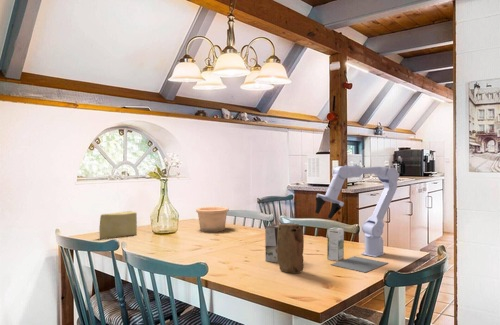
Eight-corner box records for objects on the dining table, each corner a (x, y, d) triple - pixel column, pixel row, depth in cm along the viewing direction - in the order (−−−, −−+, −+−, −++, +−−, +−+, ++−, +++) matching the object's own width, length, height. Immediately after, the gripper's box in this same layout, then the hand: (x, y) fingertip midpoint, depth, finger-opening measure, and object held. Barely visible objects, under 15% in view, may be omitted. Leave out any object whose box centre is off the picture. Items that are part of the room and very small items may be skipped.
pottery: (203, 234, 248) (203, 211, 248) (191, 228, 267) (191, 208, 267) (234, 230, 258) (233, 209, 258) (220, 226, 277) (220, 206, 277)
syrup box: (332, 257, 187) (332, 227, 187) (344, 259, 183) (343, 228, 183) (327, 259, 183) (326, 228, 182) (338, 261, 179) (338, 230, 179)
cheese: (103, 240, 232) (102, 215, 232) (96, 238, 239) (96, 213, 239) (137, 235, 247) (137, 211, 247) (130, 233, 254) (130, 210, 254)
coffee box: (277, 262, 178) (277, 227, 178) (265, 261, 181) (264, 226, 181) (286, 258, 186) (285, 224, 186) (274, 256, 189) (273, 223, 189)
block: (275, 269, 166) (275, 223, 166) (287, 266, 171) (287, 221, 171) (295, 275, 158) (294, 226, 158) (306, 271, 163) (306, 224, 163)
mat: (354, 256, 187) (354, 256, 187) (388, 263, 175) (388, 262, 175) (330, 265, 173) (330, 264, 173) (365, 272, 161) (365, 272, 161)
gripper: (317, 182, 188) (306, 208, 186) (342, 190, 177) (331, 218, 176) (325, 187, 193) (314, 212, 191) (349, 195, 182) (338, 222, 181)
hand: (323, 215), depth 184 cm, fingers open, 7 cm apart
